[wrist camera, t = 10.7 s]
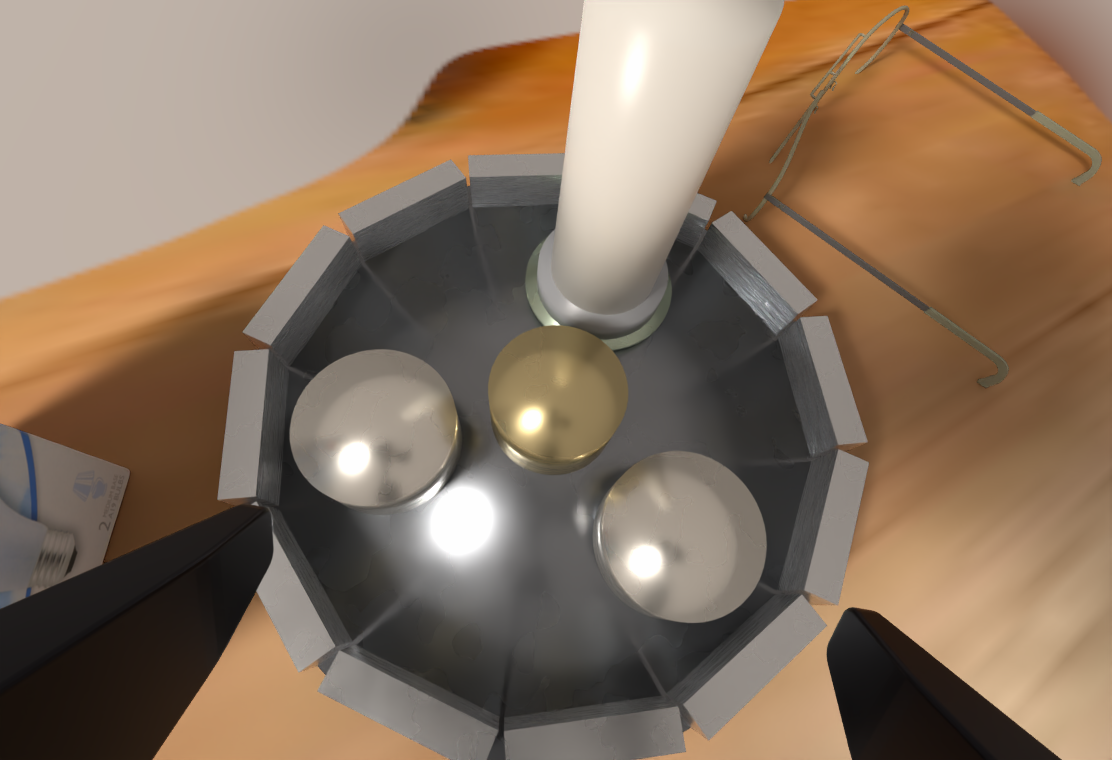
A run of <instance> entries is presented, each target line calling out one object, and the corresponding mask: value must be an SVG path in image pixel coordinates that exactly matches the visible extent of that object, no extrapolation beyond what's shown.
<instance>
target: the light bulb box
mask: <svg viewBox="0 0 1112 760" xmlns="http://www.w3.org/2000/svg"><path fill="white" fill-rule="evenodd" d="M129 476H130V471H129V469H127V468H125V467H122V466H119V465H116V464H113V463H111V462H108V461H105V460H103V459H100V458H97V457H94V456H91V455H88V454H85V453H82V452H80V451H77V450H74V449H72V448H69V447H66V446H63V445H61V444H58V443H55V442H52V441H49V440H46V439H44V438H41V437H38V436H35V435H32V434H29V433H26V432H23V431H21V430H18V429H15V428H12V427H9V426H6V425H3V424H1V423H0V609H1V608H3V607H5V606H8V605H10V604H12V603H15V602H17V601H19V600H21V599H24V598H26V597H28V596H31V595H33V594H35V593H38V592H40V591H42V590H44V589H47V588H49V587H51V586H54V585H56V584H58V583H60V582H63V581H65V580H67V579H70V578H72V577H74V576H77V575H79V574H81V573H83V572H86V571H88V570H90V569H93V568H95V567H97V566H99V565H102V563H103V560H104V556H105V553H106V550H107V547H108V543H109V540H110V537H111V534H112V530H113V527H114V524H115V521H116V518H117V515H118V512H119V509H120V505H121V502H122V499H123V496H124V492H125V489H126V486H127V483H128V479H129Z"/></svg>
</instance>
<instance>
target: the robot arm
mask: <svg viewBox="0 0 1112 760" xmlns="http://www.w3.org/2000/svg"><path fill="white" fill-rule="evenodd" d="M273 552H274V543H273V519H272V513H271V510H270V509H268V508H267V507H262V506H257V505H251V504H240V505H237V506H235V507H232V508H230V509H228V510H226V511H223V512H221V513H219V514H216V515H214V516H212V517H210V518H207V519H205V520H203V521H200V522H198V523H196V524H193V525H191V526H189V527H187V528H184V529H182V530H180V531H177V532H175V533H173V534H171V535H168V536H166V537H164V538H161V539H159V540H157V541H154V542H152V543H150V544H148V545H145V546H143V547H141V548H138V549H136V550H134V551H132V552H129V553H127V554H125V555H122V556H120V557H118V558H116V559H113V560H111V561H109V562H106V563H104V564H102V565H99V566H97V567H95V568H93V569H90V570H88V571H86V572H83V573H81V574H79V575H77V576H74V577H72V578H70V579H67V580H65V581H63V582H60V583H58V584H56V585H54V586H51V587H49V588H47V589H44V590H42V591H40V592H38V593H35V594H33V595H31V596H28V597H26V598H24V599H21V600H19V601H17V602H15V603H12V604H10V605H8V606H5V607H3V608H1V609H0V760H153V758H154V757H155V755H156V754H157V752H158V751H159V749H160V748H161V746H162V745H163V743H164V742H165V740H166V739H167V737H168V736H169V734H170V733H171V731H172V730H173V728H174V727H175V725H176V724H177V722H178V721H179V719H180V718H181V716H182V715H183V713H184V712H185V710H186V709H187V707H188V706H189V704H190V703H191V701H192V700H193V698H194V697H195V695H196V694H197V692H198V691H199V689H200V688H201V686H202V685H203V684H204V682H205V681H206V679H207V678H208V676H209V674H210V673H211V671H212V670H213V668H214V667H215V665H216V664H217V662H218V660H219V659H220V657H221V655H222V653H223V652H224V650H225V648H226V646H227V645H228V643H229V641H230V639H231V637H232V635H233V633H234V632H235V630H236V628H237V626H238V624H239V622H240V620H241V618H242V617H243V615H244V613H245V611H246V609H247V607H248V605H249V603H250V602H251V600H252V598H253V596H254V594H255V592H256V590H257V589H258V587H259V585H260V583H261V581H262V579H263V577H264V575H265V574H266V572H267V570H268V568H269V566H270V564H271V561H272V557H273ZM827 662H828V666H829V670H830V674H831V678H832V682H833V686H834V690H835V694H836V698H837V702H838V706H839V710H840V714H841V718H842V722H843V726H844V730H845V734H846V738H847V742H848V747H849V750H850V754H851V757H852V760H1061V759H1060V758H1059V757H1058V756H1056V755H1055V754H1054V753H1053V752H1051V751H1050V750H1049V749H1048V748H1046V747H1045V746H1044V745H1043V744H1041V743H1040V742H1039V741H1038V740H1036V739H1035V738H1034V737H1033V736H1031V735H1030V734H1029V733H1028V732H1026V731H1025V730H1024V729H1023V728H1021V727H1020V726H1019V725H1018V724H1017V723H1015V722H1014V721H1013V720H1012V719H1010V718H1009V717H1008V716H1007V715H1005V714H1004V713H1003V712H1002V711H1000V710H999V709H998V708H997V707H995V706H994V705H993V704H992V703H990V702H989V701H988V700H987V699H985V698H984V697H983V696H982V695H980V694H979V693H978V692H977V691H975V690H974V689H973V688H972V687H970V686H969V685H968V684H967V683H965V682H964V681H963V680H962V679H960V678H959V677H958V676H957V675H955V674H954V673H953V672H952V671H950V670H949V669H948V668H947V667H945V666H944V665H943V664H942V663H940V662H939V661H938V660H937V659H935V658H934V657H933V656H932V655H930V654H929V653H928V652H927V651H925V650H924V649H923V648H922V647H920V646H919V645H918V644H917V643H915V642H914V641H913V640H912V639H910V638H909V637H908V636H907V635H905V634H904V633H903V632H902V631H900V630H899V629H898V628H897V627H895V626H894V625H893V624H892V623H890V622H889V621H888V620H887V619H886V618H884V617H883V616H882V615H880V614H879V613H877V612H875V611H872V610H866V609H860V608H854V607H852V608H848V609H847V610H845V611H844V613H843V615H842V617H841V619H840V621H839V623H838V625H837V627H836V629H835V631H834V633H833V635H832V637H831V639H830V641H829V643H828V647H827Z"/></svg>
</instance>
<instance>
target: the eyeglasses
mask: <svg viewBox="0 0 1112 760" xmlns="http://www.w3.org/2000/svg"><path fill="white" fill-rule="evenodd" d="M901 10H905V13H904V15H903V17H902V19H901V20H900V22H899V23H898V24H897V26H896V28H895V29H894V31H893V32H892V33H891V34H890V36H889V37H888V38H887V40H886V41H885V42H884V43H883V45H882V46H881V47H880V48H879V49H878V51H877V52H876V53H875V54H874V55H873V56H872V57H871V58H870V59H869V60H868V61H867V62H866V63H865V64H864V65H863V66H862V67H861V68H860V69H859V70H857V71H856V72H855V74H858V73H860V72H861V71H862V70H863V69H864V68H866V67H867V66H868V65H869V64H870V63H871V62H872V61H873V60H874V59H875V58H876V57H877V55H878V54H879V53H880V52H881V51H882V50H883V49H884V47H885V46H886V45H887V44H888V42H889V41H890V40H891V39H892V37H893V36H894V35H895V33H896V32H897V31H898V29H899V30H901V31H902V32H904V33H905V34H907V35H908V36H910V37H911V38H913V39H914V40H916V41H917V42H919V43H920V44H922V45H923V46H925V47H926V48H928V49H929V50H931V51H932V52H934V53H935V54H937V55H938V56H940V57H941V58H943V59H944V60H946V61H947V62H949V63H950V64H952V65H953V66H955V67H957V68H958V69H960V70H961V71H963V72H964V73H966V74H967V75H969V76H970V77H972V78H973V79H975V80H976V81H978V82H979V83H981V84H982V85H984V86H985V87H987V88H988V89H990V90H991V91H993V92H994V93H996V94H997V95H999V96H1000V97H1002V98H1003V99H1005V100H1006V101H1008V102H1009V103H1011V104H1013V105H1014V106H1016V107H1017V108H1019V109H1020V110H1022V111H1023V112H1025V113H1026V114H1028V115H1029V116H1031V118H1033V119H1034V120H1036V121H1037V122H1039V123H1040V124H1042V125H1044V126H1045V127H1047V128H1048V129H1050V130H1051V131H1053V132H1054V133H1056V134H1057V135H1059V136H1060V137H1062V138H1063V139H1065V140H1066V141H1068V142H1069V143H1071V144H1072V145H1074V146H1075V147H1077V148H1078V149H1080V150H1081V151H1083V152H1084V153H1086V154H1087V155H1089V156H1090V157H1091V159H1092V167H1091V168H1090V169H1089V170H1088V171H1087V172H1084V173H1083V174H1081V175H1080V176H1078V177H1076V178H1074V179H1072V181H1071V182H1073V183H1075V184H1077V185H1079V186H1080V185H1081V184H1082V183H1084V182H1085V181H1087V180H1089V179H1090V178H1091V177H1093V175H1094V174H1095V173H1096V172H1097V171H1098V169H1099V167H1100V165H1101V161H1102V158H1101V155H1100V153H1099V152H1098V151H1097V150H1096V149H1095V148H1093V147H1092V146H1090V145H1089V144H1087V143H1086V142H1084V141H1083V140H1081V139H1080V138H1078V137H1077V136H1075V135H1074V134H1072V133H1070V132H1069V131H1067V130H1066V129H1064V128H1063V127H1061V126H1060V125H1058V124H1057V123H1055V122H1054V121H1052V120H1051V119H1049V118H1048V117H1046V116H1045V115H1043V114H1042V113H1040V112H1039V111H1035V110H1034V109H1032V108H1031V107H1029V106H1027V105H1026V104H1024V103H1023V102H1021V101H1020V100H1018V99H1017V98H1015V97H1014V96H1012V95H1011V94H1009V93H1008V92H1006V91H1005V90H1003V89H1002V88H1000V87H999V86H997V85H996V84H994V83H993V82H991V81H990V80H988V79H986V78H985V77H983V76H982V75H980V74H979V73H977V72H976V71H974V70H973V69H971V68H970V67H968V66H967V65H965V64H964V63H962V62H961V61H959V60H958V59H956V58H955V57H953V56H952V55H950V54H949V53H947V52H945V51H944V50H942V49H941V48H939V47H938V46H936V45H935V44H933V43H932V42H930V41H929V40H927V39H926V38H924V37H923V36H921V35H920V34H918V33H917V32H914V30H912V29H911V28H909V27H908V26H906V25H905V24H903V22H904V21H905V19H906V17H907V15H908V13H909V7H908V6H901V7H899V8H897V9H895V10H894V11H892V12H891V13H890V14H888V15H887V16H886V17H885V18H884V19H882V20H881V21H880V22H879V23H878V24H877V25H876V26H875V27H874V28H872V29H871V30H870V31H869V32H868V33H867V35H864V34H862V33H859V34H858V35H857V37H856V38H855V39H854V40H853V42H852V43H851V44H850V45H849V47H848V48H847V49H846V50H845V51H844V53H843V54H842V55H841V56H840V58H839V59H838V60H837V61H836V63H835V64H834V65H833V66H832V67H831V69H830V70H829V71H828V72H827V74H826V75H825V76H824V77H823V79H822V80H821V81H820V82H819V84H818V85H817V86H816V87H815V88H814V90H813V91H812V92H811V93H810V95H811V97H812V98H813V99H814V101H813V102H812V104H811V105H810V106H809V108H808V109H807V110H806V112H805V113H804V114H803V116H802V117H801V118H800V120H799V121H798V122H797V124H796V125H795V127H794V128H793V129H792V131H791V132H790V133H789V135H788V136H787V137H786V139H785V140H784V141H783V143H782V144H781V145H780V147H779V148H778V149H777V151H776V152H775V153H774V155H773V156H772V158H771V159H770V161H769V163H772V162H773V161H774V159H775V158H776V156H777V155H778V154H779V152H780V151H781V150H782V148H783V147H784V146H785V144H786V143H787V142H788V140H789V139H790V138H791V136H792V135H793V134H794V132H795V131H796V130H797V128H798V127H799V126H800V124H801V123H802V125H801V127H800V129H799V132H798V134H797V136H796V139H795V141H794V144H793V146H792V148H791V151H790V153H789V155H788V158H787V160H786V162H785V164H784V166H783V168H782V170H781V172H780V174H779V176H778V178H777V179H776V181H775V183H774V184H773V186H772V187H771V189H770V190H769V192H768V193H767V194H766V195H765V196H764V199H763V200H762V202H761V203H760V204H759V206H758V207H757V208H756V209H755V210H754V212H753V213H752V214H751V215H750V216H749V217H747V215H746V214H745V215H744V220H745V221H750V220H751V219H752V218H753V217H754V216H755V215H756V214H757V213H758V212H759V211H760V209H761V208H762V207H763V206H764V204H765V203H766V202H767V200H768V201H769V202H771V203H772V204H773V205H775V206H776V207H778V206H779V205H780V206H779V207H778V208H779V209H781V210H782V211H783V212H785V213H786V214H788V215H789V216H790V217H792V218H793V219H795V220H796V221H797V222H799V223H800V224H802V225H803V226H804V227H806V228H807V229H809V230H810V231H811V232H813V233H814V234H816V235H817V236H818V237H820V238H821V239H823V240H824V241H826V242H827V243H828V244H830V245H831V246H833V247H834V248H835V249H837V250H838V251H840V252H841V253H842V254H844V255H845V256H847V257H848V258H849V259H851V260H852V261H854V262H855V263H856V264H858V265H859V266H861V267H862V268H863V269H865V270H866V271H868V272H869V273H871V274H872V275H873V276H875V277H876V278H878V279H879V280H880V281H882V282H883V283H885V284H886V285H887V286H889V287H890V288H892V289H893V290H894V291H896V292H897V293H899V294H900V295H901V296H903V297H904V298H906V299H907V300H908V301H910V302H911V303H913V304H914V305H916V306H917V307H918V308H920V309H921V310H923V311H924V313H926V314H927V315H928V316H930V317H931V318H933V319H934V320H935V321H937V322H938V323H940V324H941V325H942V326H944V327H945V328H947V329H948V330H949V331H951V332H952V333H954V334H955V335H957V336H958V337H959V338H961V339H962V340H964V341H965V342H966V343H968V344H969V345H971V346H972V347H973V348H975V349H976V350H978V351H979V352H981V353H982V354H983V355H985V356H986V357H988V358H989V359H990V360H992V361H993V362H994V363H995V364H996V365H997V368H998V373H997V374H995V375H992V376H989V377H986V378H982V379H978V381H977V383H979V384H980V385H982V386H983V387H985V388H988V387H989V386H992V385H995V384H998V383H1000V382H1001V381H1002V380H1004V378H1005V377H1006V376H1007V374H1008V371H1009V368H1008V365H1007V363H1006V361H1005V360H1004V359H1003V358H1002V357H1001V356H999V355H998V354H997V353H995V352H994V351H992V350H991V349H990V348H988V347H987V346H985V345H984V344H983V343H981V342H980V341H978V340H977V339H976V338H974V337H973V336H971V335H970V334H968V333H967V332H966V331H964V330H963V329H961V328H960V327H959V326H957V325H956V324H954V323H953V322H952V321H950V320H949V319H947V318H946V317H945V316H943V315H942V314H940V313H939V312H937V311H936V310H935V309H933V308H932V307H928V306H927V305H925V304H924V303H923V302H921V301H920V300H918V299H917V298H916V297H914V296H913V295H911V294H910V293H909V292H907V291H906V290H904V289H903V288H901V287H900V286H899V285H897V284H896V283H894V282H893V281H892V280H890V279H889V278H887V277H886V276H885V275H883V274H882V273H880V272H879V271H878V270H876V269H875V268H873V267H872V266H870V265H869V264H868V263H866V262H865V261H863V260H862V259H861V258H859V257H858V256H856V255H855V254H854V253H852V252H851V251H849V250H848V249H846V248H845V247H844V246H842V245H841V244H839V243H838V242H837V241H835V240H834V239H832V238H831V237H830V236H828V235H827V234H825V233H824V232H823V231H821V230H820V229H818V228H817V227H815V226H814V225H813V224H811V223H810V222H808V221H807V220H806V219H804V218H803V217H801V216H800V215H799V214H797V213H796V212H794V211H793V210H792V209H790V208H789V207H787V206H786V205H784V204H783V203H782V202H780V201H779V200H777V199H776V198H775V197H773V196H771V195H772V193H773V192H774V190H775V189H776V187H777V186H778V184H779V182H780V181H781V179H782V177H783V175H784V173H785V172H786V170H787V168H788V166H789V163H790V161H791V159H792V157H793V154H794V152H795V149H796V147H797V145H798V142H799V140H800V137H801V135H802V133H803V130H804V128H805V126H806V124H807V121H808V119H809V117H810V115H811V113H812V111H813V109H814V108H815V107H817V109H818V106H817V103H818V102H819V101H820V99H821V98H822V97H823V95H824V94H825V93H826V91H827V90H828V88H829V87H830V89H831V86H832V84H833V83H834V82H836V81H834V80H835V79H836V78H837V76H838V75H839V74H840V72H841V71H842V70H843V68H844V67H845V66H846V65H847V63H848V62H849V61H850V59H851V58H852V57H853V56H854V54H855V53H856V52H857V51H858V49H859V48H860V47H861V46H862V45H863V43H864V42H865V41H866V40H867V39H868V38H869V37H870V36H871V34H873V33H874V32H875V31H876V30H877V29H878V28H879V27H880V26H881V25H882V24H883V23H884V22H886V21H887V20H888V19H889V18H890V17H892V16H893V15H894V14H896V13H897V12H899V11H901ZM909 32H910V33H909ZM908 33H909V34H908ZM860 36H862V37H864V38H863V39H862V40H861V41H860V42H859V44H858V45H857V46H856V47H855V48H854V50H853V51H852V52H851V53H850V55H849V56H848V57H847V59H846V60H845V61H844V63H843V64H842V65H841V66H840V68H839V69H838V70H837V72H836V73H834V72H832V70H833V69H834V68H835V66H836V65H837V64H838V63H839V61H840V60H841V59H842V58H843V56H844V55H845V54H846V53H847V51H848V50H849V49H850V48H851V46H852V45H853V44H854V43H855V42H856V40H857V39H858V38H859V37H860ZM829 74H832V75H834V76H833V77H832V78H831V80H830V81H829V83H828V84H827V85H826V87H825V88H824V89H823V90H821V91H820V92H819V94H818V95H817V96H816V97H815V96H814V95H813V94H814V92H815V91H816V90H817V89H818V88H819V86H820V85H821V84H822V83H823V81H824V80H825V79H826V78H827V76H828V75H829ZM836 84H837V82H836ZM836 84H835V86H836ZM835 86H833V88H832V91H833V90H834V88H835ZM817 109H816V110H817ZM816 110H815V111H814V114H815V113H816Z"/></svg>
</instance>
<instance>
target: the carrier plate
mask: <svg viewBox="0 0 1112 760" xmlns="http://www.w3.org/2000/svg"><path fill="white" fill-rule="evenodd" d="M564 156H565V153H559V154H514V155H469V156H468V159H469V176H470V186H467V184H466V177H465V176H464V175H463V174H462V173H461V171H460V170H459V169H458V168H457V166H456V165H455V164H454V163H453V161H452V160H449V161H447V162H445V163H443V164H441V165H438V166H436V167H434V168H432V169H430V170H428V171H426V172H424V173H422V174H420V175H418V176H416V177H413V178H411V179H409V180H407V181H405V182H403V183H401V184H399V185H397V186H395V187H393V188H391V189H388V190H386V191H384V192H382V193H380V194H378V195H376V196H374V197H372V198H370V199H368V200H366V201H363V202H361V203H359V204H357V205H355V206H353V207H351V208H349V209H347V210H345V211H343V212H341V213H338V214H339V216H340V218H341V220H342V223H343V225H344V227H345V229H346V232H347V234H348V236H347V235H345V234H343V233H340V232H338V231H336V230H333V229H331V228H329V227H326V226H324V225H323V227H322V228H321V229H320V231H319V232H318V233H317V235H316V236H315V237H314V239H313V240H312V241H311V243H310V244H309V245H308V246H307V248H306V249H305V250H304V252H303V253H302V254H301V256H300V257H299V258H298V260H297V261H296V262H295V264H294V265H293V266H292V267H291V269H290V270H289V271H288V273H287V274H286V275H285V277H284V278H283V279H282V281H281V282H280V283H279V285H278V286H277V287H276V288H275V290H274V291H273V292H272V294H271V295H270V296H269V298H268V299H267V300H266V302H265V303H264V304H263V306H262V307H261V308H260V310H259V311H258V312H257V313H256V315H255V316H254V317H253V319H252V320H251V321H250V323H249V324H248V325H247V327H246V328H245V329H244V331H243V333H244V334H245V335H246V336H247V337H248V338H249V339H250V340H251V341H252V342H253V343H254V344H255V345H256V346H257V347H258V348H259V349H260V350H246V351H234V359H233V367H232V376H231V385H230V394H229V402H228V411H227V420H226V428H225V437H224V446H223V455H222V463H221V472H220V481H219V489H218V498H217V500H219V501H222V502H225V503H228V504H231V505H234V506H237V505H240V504H251V505H257V506H262V507H267V508H268V509H270V510H271V513H272V519H273V543H274V552H273V557H272V561H271V564H270V566H269V568H268V570H267V572H266V574H265V575H264V577H263V579H262V581H261V583H260V585H259V587H258V589H257V590H256V591H257V593H258V595H259V597H260V599H261V601H262V603H263V605H264V606H265V608H266V610H267V612H268V614H269V616H270V618H271V620H272V622H273V624H274V626H275V628H276V630H277V632H278V634H279V635H280V637H281V639H282V641H283V643H284V645H285V647H286V649H287V651H288V653H289V655H290V657H291V659H292V661H293V662H294V664H295V666H296V668H297V670H298V672H302V671H305V670H307V669H310V668H313V667H316V666H318V667H319V668H320V669H321V670H322V671H323V673H324V674H325V675H326V676H325V678H324V680H323V681H322V683H321V685H320V687H319V689H318V692H320V693H322V694H324V695H326V696H327V697H329V698H331V699H333V700H335V701H337V702H339V703H341V704H343V705H345V706H347V707H349V708H351V709H353V710H355V711H357V712H359V713H361V714H363V715H364V716H366V717H368V718H370V719H372V720H374V721H376V722H378V723H380V724H382V725H384V726H386V727H388V728H390V729H392V730H394V731H396V732H398V733H400V734H402V735H403V736H405V737H407V738H409V739H411V740H413V741H415V742H417V743H419V744H421V745H423V746H425V747H427V748H429V749H431V750H433V751H435V752H437V753H439V754H440V755H442V756H444V757H446V758H448V759H450V760H636V759H642V758H649V757H655V756H662V755H669V754H675V753H682V752H686V749H685V743H684V737H683V732H684V731H686V730H687V729H689V728H692V729H694V730H695V731H696V732H698V733H699V734H700V735H702V736H703V737H705V738H706V739H707V740H710V739H711V738H712V737H713V736H714V735H715V734H716V733H717V732H718V731H719V730H720V729H721V728H722V727H723V726H724V725H725V724H726V723H727V722H728V721H729V720H730V719H731V718H733V717H734V716H735V715H736V714H737V713H738V712H739V711H740V710H741V709H742V708H743V707H744V706H745V705H746V704H747V703H748V702H749V701H750V700H751V699H752V698H753V697H754V696H755V695H756V694H757V693H758V692H759V691H760V690H761V689H762V688H763V687H764V686H765V685H767V684H768V683H769V682H770V681H771V680H772V679H773V678H774V677H775V676H776V675H777V674H778V673H779V672H780V671H781V670H782V669H783V668H784V667H785V666H786V665H787V664H788V663H789V662H790V661H791V660H792V659H793V658H794V657H795V656H796V655H797V654H798V653H799V652H801V651H802V650H803V649H804V648H805V647H806V646H807V645H808V644H809V643H810V642H811V641H812V640H813V639H814V638H815V637H816V636H817V635H818V634H819V633H820V632H821V631H822V630H823V629H824V628H825V627H826V626H827V625H826V624H825V622H824V621H823V620H822V619H821V617H820V616H819V615H818V614H817V612H816V611H815V610H814V609H813V608H812V606H811V605H837V606H838V603H839V599H840V594H841V589H842V585H843V580H844V576H845V571H846V566H847V562H848V557H849V553H850V548H851V543H852V539H853V534H854V530H855V525H856V520H857V516H858V511H859V507H860V502H861V497H862V493H863V488H864V484H865V479H866V474H867V470H868V465H869V462H867V461H865V460H862V459H860V458H858V457H856V456H853V455H851V454H849V453H846V451H848V450H851V449H853V448H855V447H858V446H860V445H862V444H865V443H867V442H868V441H867V438H866V435H865V432H864V429H863V426H862V423H861V419H860V416H859V413H858V410H857V407H856V404H855V401H854V397H853V394H852V391H851V388H850V385H849V382H848V379H847V376H846V372H845V369H844V366H843V363H842V360H841V357H840V354H839V350H838V347H837V344H836V341H835V338H834V335H833V332H832V329H831V325H830V322H829V319H828V316H816V317H800V316H802V315H803V314H804V313H805V312H806V311H807V310H808V309H809V308H810V307H811V306H812V305H813V304H814V303H815V302H816V301H817V299H816V298H815V297H814V295H813V294H812V293H811V292H810V291H809V290H808V289H807V288H806V287H805V286H804V285H803V284H802V283H801V282H800V281H799V280H798V279H797V278H796V277H795V276H794V275H793V274H792V273H791V272H790V271H789V270H788V269H787V268H786V267H785V266H784V264H783V263H782V262H781V261H780V260H779V259H778V258H777V257H776V256H775V255H774V254H773V253H772V252H771V251H770V250H769V249H768V248H767V247H766V246H765V245H764V244H763V243H762V242H761V241H760V240H759V239H758V238H757V237H756V236H755V234H754V233H753V232H752V231H751V230H750V229H749V228H748V227H747V226H746V225H745V224H744V223H743V222H742V221H741V220H740V219H739V218H738V217H737V216H736V215H735V214H734V213H733V212H732V211H730V212H729V213H727V214H725V215H724V216H722V217H721V218H719V219H717V220H716V221H714V222H712V224H711V225H710V227H709V229H708V231H707V230H705V229H704V228H705V226H706V225H707V223H708V221H709V219H710V216H711V214H712V211H713V209H714V206H715V204H716V202H717V201H716V200H713V199H711V198H708V197H706V196H703V195H701V194H698V193H697V194H696V197H695V199H694V201H693V203H692V205H691V207H690V209H689V212H688V214H687V216H686V218H685V220H684V222H683V224H682V226H681V229H680V231H679V233H678V235H677V237H676V239H675V241H674V244H673V246H672V248H671V250H670V252H669V254H668V256H667V259H666V263H667V268H668V283H667V288H666V291H665V294H664V296H663V298H662V300H661V301H660V303H659V305H658V307H657V309H656V311H655V313H654V315H653V316H652V317H651V319H650V320H649V321H648V322H647V323H646V324H645V325H644V326H643V327H641V328H640V329H639V330H637V331H635V332H634V333H632V334H629V335H627V336H624V337H620V338H616V339H608V340H600V339H599V338H597V337H596V336H594V335H592V334H590V333H588V332H586V331H584V330H581V329H578V328H574V327H570V326H563V325H559V324H558V323H557V322H556V321H555V320H554V319H553V318H552V317H551V316H550V315H549V314H548V312H547V311H546V309H545V308H544V306H543V304H542V302H541V300H540V297H539V294H538V290H537V269H538V259H539V254H540V251H541V248H542V246H543V244H544V242H545V240H546V239H547V237H548V236H549V235H550V234H551V233H552V231H554V230H555V228H556V220H557V212H558V204H559V196H560V188H561V180H562V172H563V164H564ZM799 317H800V318H799ZM798 318H799V319H798ZM797 319H798V320H797ZM796 320H797V321H796Z"/></svg>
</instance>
